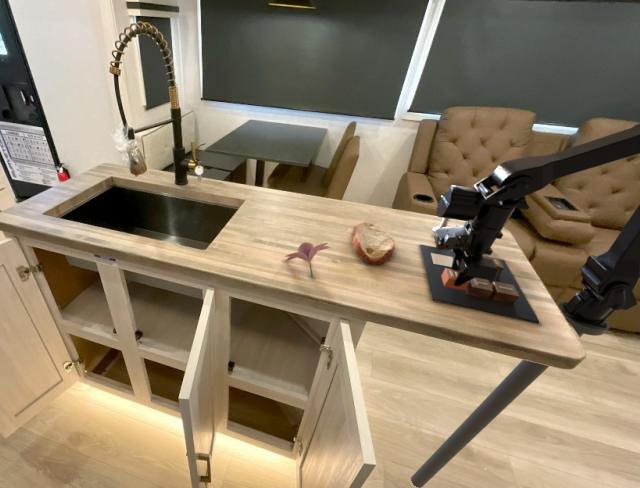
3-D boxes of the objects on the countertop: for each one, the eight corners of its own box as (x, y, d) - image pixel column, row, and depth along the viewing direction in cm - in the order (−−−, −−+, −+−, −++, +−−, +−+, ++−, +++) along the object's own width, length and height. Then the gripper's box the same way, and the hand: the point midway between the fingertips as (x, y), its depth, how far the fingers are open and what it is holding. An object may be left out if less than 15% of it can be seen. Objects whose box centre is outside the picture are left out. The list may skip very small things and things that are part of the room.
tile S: (460, 279, 81) (465, 271, 79) (464, 290, 78) (469, 282, 76) (441, 275, 82) (445, 267, 80) (444, 286, 79) (448, 278, 77)
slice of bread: (364, 224, 105) (367, 213, 103) (413, 250, 94) (418, 239, 91) (324, 237, 97) (327, 226, 95) (372, 268, 86) (376, 256, 83)
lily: (332, 267, 87) (327, 232, 85) (336, 277, 76) (330, 237, 74) (288, 274, 90) (282, 240, 88) (285, 285, 79) (279, 247, 77)
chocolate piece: (483, 287, 80) (488, 279, 79) (487, 298, 77) (493, 290, 75) (463, 283, 81) (468, 275, 80) (467, 294, 78) (472, 286, 76)
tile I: (507, 292, 79) (513, 284, 78) (513, 304, 76) (520, 296, 74) (487, 288, 80) (493, 280, 79) (492, 299, 77) (498, 291, 75)
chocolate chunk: (494, 266, 88) (499, 258, 87) (498, 275, 85) (504, 267, 83) (475, 262, 89) (480, 254, 88) (479, 271, 86) (485, 263, 84)
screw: (449, 240, 99) (434, 241, 99) (440, 232, 103) (426, 232, 102) (470, 201, 91) (454, 201, 90) (460, 194, 95) (444, 194, 94)
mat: (503, 261, 91) (504, 259, 91) (538, 323, 72) (540, 321, 71) (420, 245, 96) (421, 244, 96) (432, 300, 77) (433, 298, 76)
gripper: (440, 199, 78) (415, 253, 88) (455, 236, 64) (423, 295, 74) (491, 207, 76) (460, 262, 85) (518, 247, 62) (477, 307, 72)
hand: (454, 279), depth 79 cm, fingers closed on tile S, 4 cm apart
